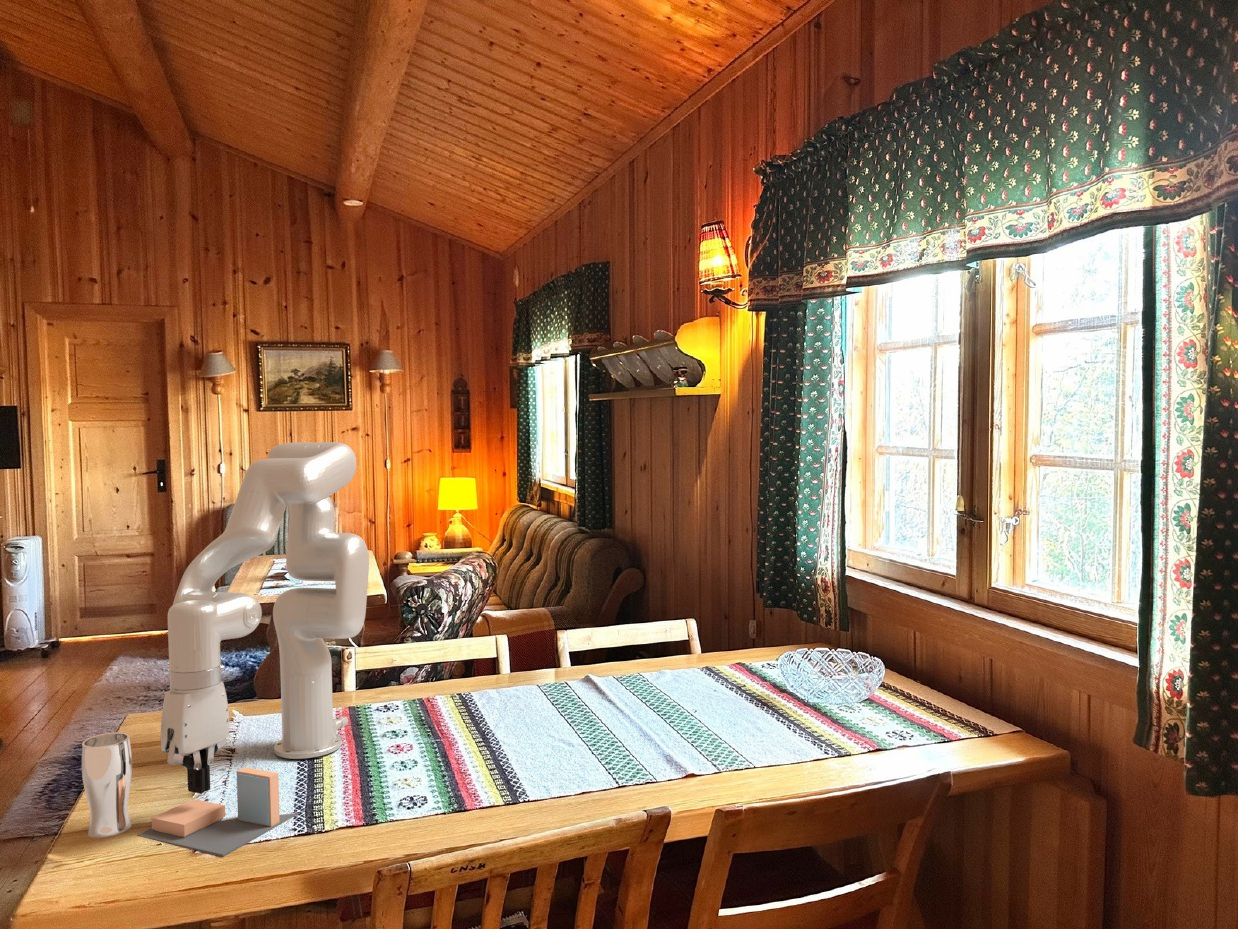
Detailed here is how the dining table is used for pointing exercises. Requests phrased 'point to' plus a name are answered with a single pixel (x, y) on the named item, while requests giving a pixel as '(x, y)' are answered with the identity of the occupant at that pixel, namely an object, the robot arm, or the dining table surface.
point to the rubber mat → (217, 836)
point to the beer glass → (107, 782)
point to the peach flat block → (258, 796)
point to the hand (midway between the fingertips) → (199, 790)
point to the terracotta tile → (188, 817)
